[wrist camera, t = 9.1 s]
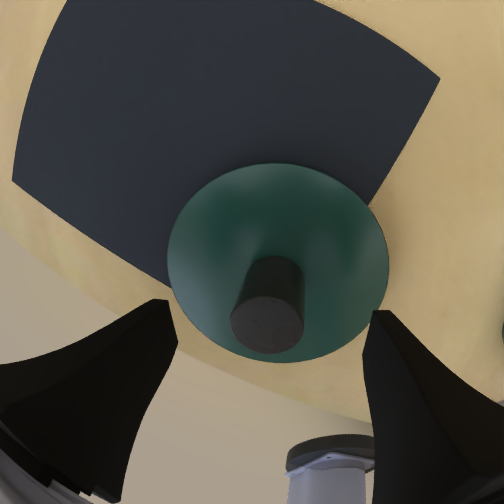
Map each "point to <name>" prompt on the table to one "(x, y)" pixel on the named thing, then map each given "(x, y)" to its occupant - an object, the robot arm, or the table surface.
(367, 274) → the tin lid
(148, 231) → the mat
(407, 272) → the table surface
